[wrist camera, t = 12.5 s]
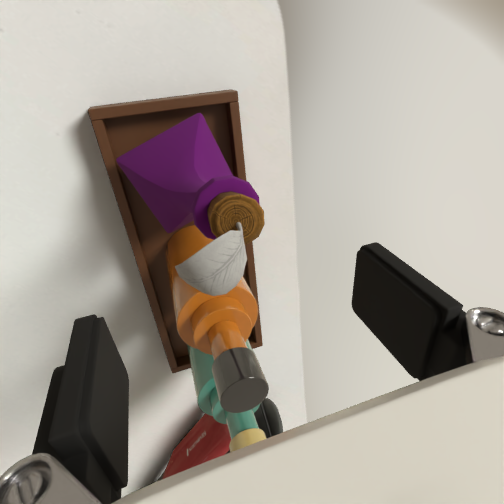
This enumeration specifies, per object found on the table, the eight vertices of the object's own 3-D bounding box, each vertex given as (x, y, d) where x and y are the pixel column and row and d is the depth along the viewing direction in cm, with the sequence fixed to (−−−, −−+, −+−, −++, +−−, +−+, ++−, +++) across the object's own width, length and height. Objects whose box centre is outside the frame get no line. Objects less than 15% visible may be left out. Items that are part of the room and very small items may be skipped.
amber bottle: (158, 232, 32) (180, 377, 17) (221, 218, 33) (293, 341, 18) (172, 284, 35) (200, 445, 20) (229, 270, 36) (295, 410, 22)
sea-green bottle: (177, 303, 36) (207, 466, 21) (232, 288, 38) (296, 432, 23) (187, 343, 40) (220, 509, 25) (238, 329, 41) (297, 477, 26)
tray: (90, 106, 26) (87, 109, 24) (231, 89, 28) (237, 90, 27) (170, 361, 41) (172, 373, 39) (257, 335, 43) (262, 346, 42)
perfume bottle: (194, 107, 27) (266, 152, 13) (232, 182, 32) (320, 283, 17) (116, 150, 27) (95, 249, 12) (165, 220, 31) (194, 357, 16)
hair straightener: (97, 540, 55) (92, 608, 48) (222, 372, 45) (238, 427, 38) (179, 535, 63) (184, 593, 56) (301, 391, 52) (326, 439, 46)
